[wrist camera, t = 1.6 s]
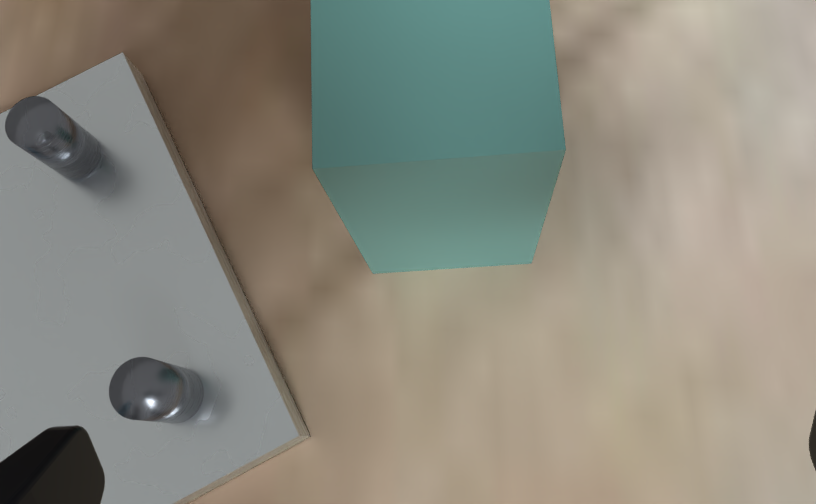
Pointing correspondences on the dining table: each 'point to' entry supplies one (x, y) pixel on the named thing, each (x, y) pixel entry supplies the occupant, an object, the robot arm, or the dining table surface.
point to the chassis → (126, 300)
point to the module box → (437, 127)
